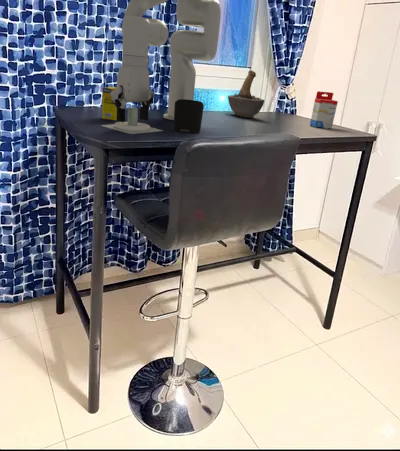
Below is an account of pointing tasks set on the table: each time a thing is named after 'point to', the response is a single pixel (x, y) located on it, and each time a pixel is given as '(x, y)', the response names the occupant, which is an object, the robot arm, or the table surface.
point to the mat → (131, 131)
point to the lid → (132, 122)
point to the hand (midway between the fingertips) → (132, 120)
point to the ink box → (323, 110)
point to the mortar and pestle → (246, 99)
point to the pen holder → (188, 116)
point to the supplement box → (108, 105)
